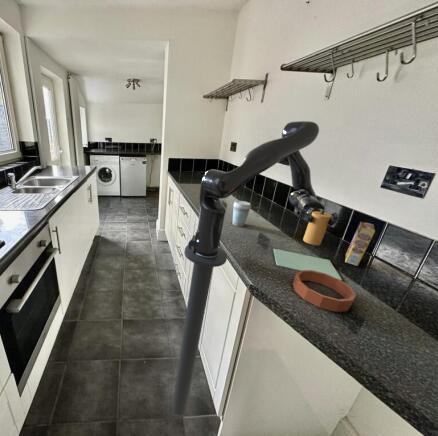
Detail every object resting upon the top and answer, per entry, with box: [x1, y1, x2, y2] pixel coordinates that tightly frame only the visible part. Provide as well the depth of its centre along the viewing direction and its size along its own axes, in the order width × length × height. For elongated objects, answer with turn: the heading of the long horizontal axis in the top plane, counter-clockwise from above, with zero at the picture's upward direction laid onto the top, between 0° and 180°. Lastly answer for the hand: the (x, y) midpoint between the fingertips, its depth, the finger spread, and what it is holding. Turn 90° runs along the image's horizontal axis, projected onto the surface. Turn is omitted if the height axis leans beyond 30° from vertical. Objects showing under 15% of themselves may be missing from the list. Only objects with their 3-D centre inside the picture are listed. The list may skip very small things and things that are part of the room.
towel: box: [272, 248, 343, 281], centre depth 88 cm, size 20×14×1 cm
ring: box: [292, 270, 357, 313], centre depth 71 cm, size 15×15×4 cm
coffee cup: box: [231, 200, 252, 227], centre depth 120 cm, size 8×9×12 cm
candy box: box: [344, 221, 376, 267], centre depth 90 cm, size 9×4×15 cm, turn 140°
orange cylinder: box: [302, 209, 331, 246], centre depth 83 cm, size 5×5×12 cm
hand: (321, 221), depth 79 cm, fingers closed on orange cylinder, 5 cm apart
